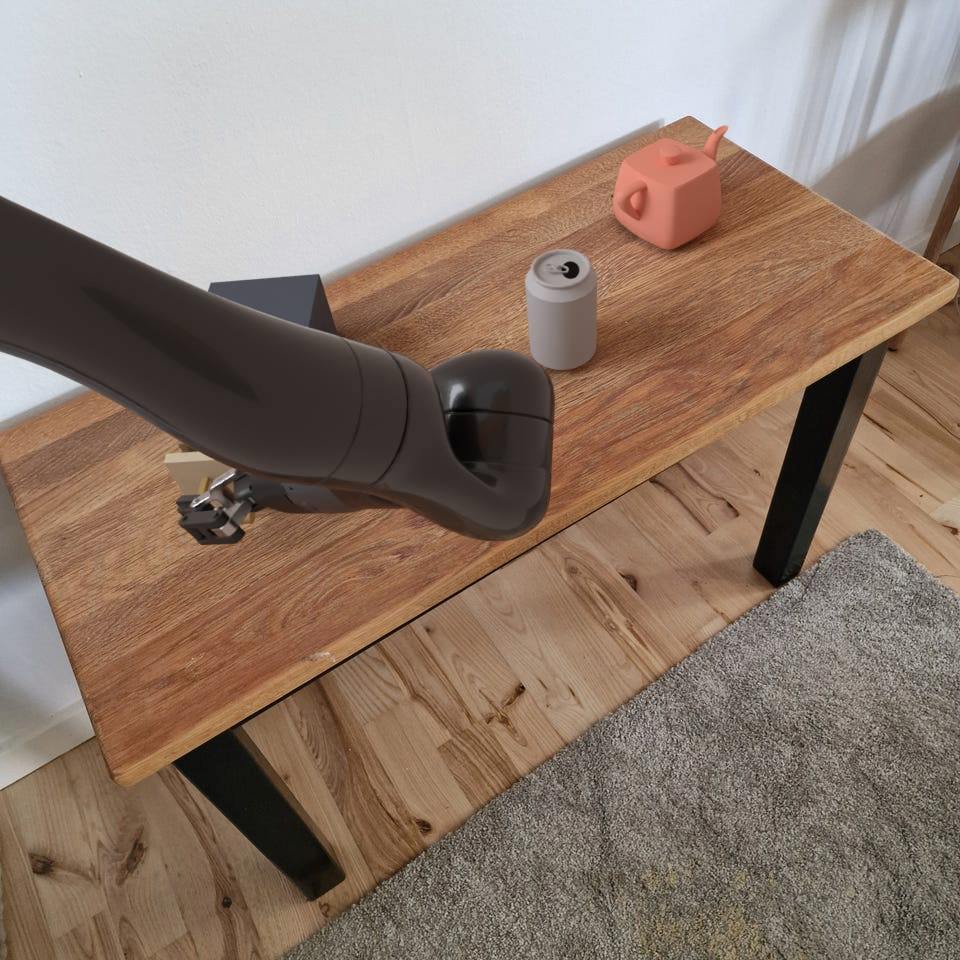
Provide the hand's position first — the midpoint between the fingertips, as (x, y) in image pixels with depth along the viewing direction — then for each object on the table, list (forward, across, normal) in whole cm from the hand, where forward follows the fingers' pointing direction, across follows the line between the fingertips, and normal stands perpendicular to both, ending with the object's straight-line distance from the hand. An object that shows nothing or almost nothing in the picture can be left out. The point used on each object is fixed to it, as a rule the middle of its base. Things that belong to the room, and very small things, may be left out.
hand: (218, 470), depth 70 cm
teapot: (-7, -64, +21) cm, 68 cm away
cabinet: (+19, -20, +5) cm, 28 cm away
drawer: (+13, -7, +7) cm, 16 cm away
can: (-5, -37, +20) cm, 42 cm away
